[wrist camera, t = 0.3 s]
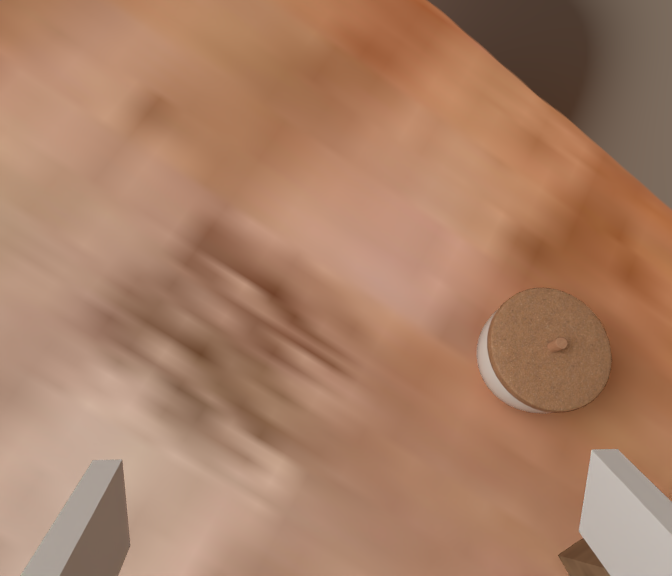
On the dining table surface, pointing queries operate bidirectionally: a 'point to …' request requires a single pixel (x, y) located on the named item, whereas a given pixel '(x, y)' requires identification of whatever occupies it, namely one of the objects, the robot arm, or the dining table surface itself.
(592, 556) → the tan square block
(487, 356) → the lidded jar
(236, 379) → the dining table surface
